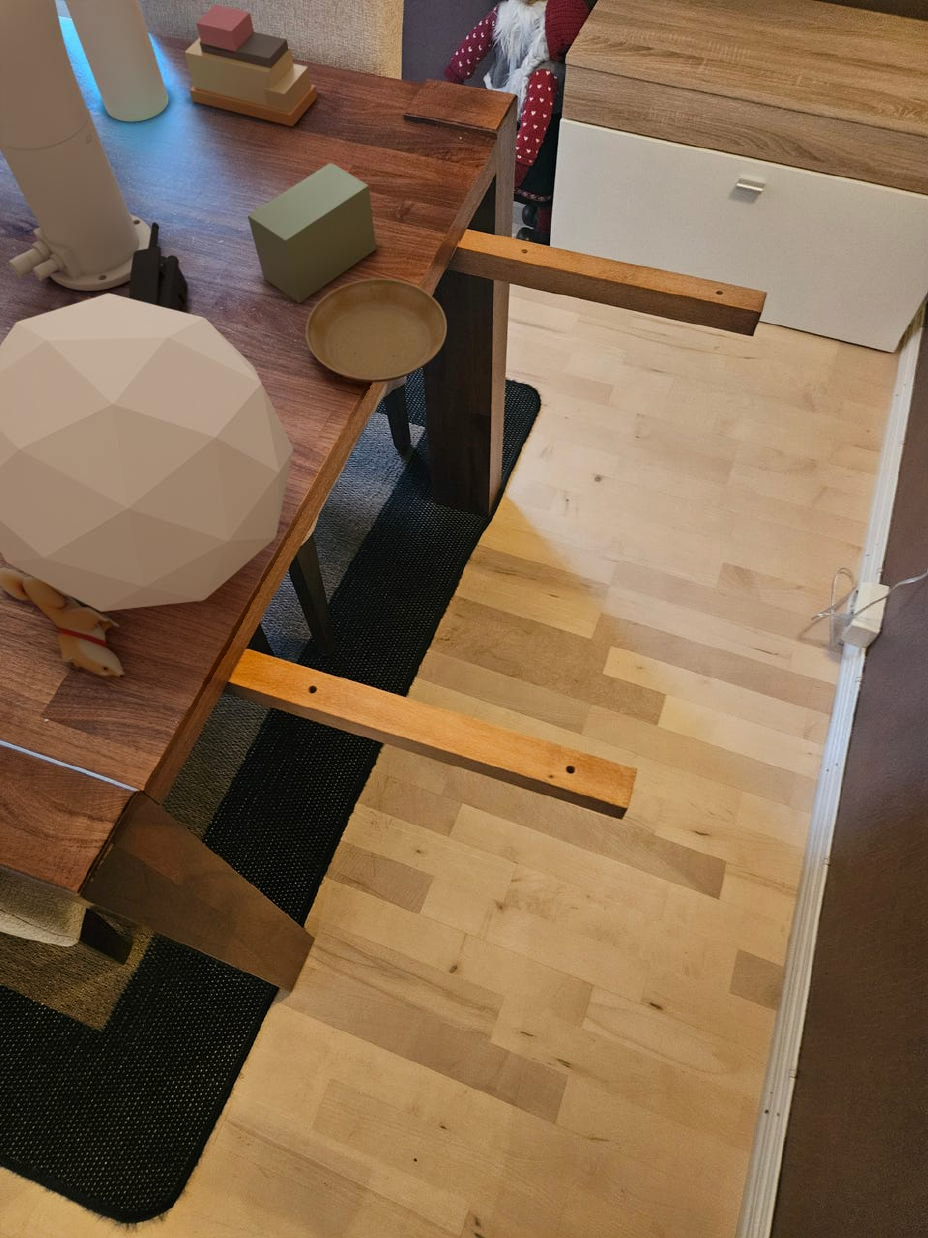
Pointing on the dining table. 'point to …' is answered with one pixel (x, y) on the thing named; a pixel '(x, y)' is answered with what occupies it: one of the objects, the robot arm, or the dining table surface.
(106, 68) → the cup
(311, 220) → the rectangular block
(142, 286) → the walkie-talkie
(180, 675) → the dining table surface
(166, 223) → the dining table surface
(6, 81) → the robot arm
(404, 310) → the plant saucer
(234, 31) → the grey and pink l-bracket
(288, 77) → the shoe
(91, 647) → the toy
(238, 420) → the geometric shape
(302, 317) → the dining table surface
